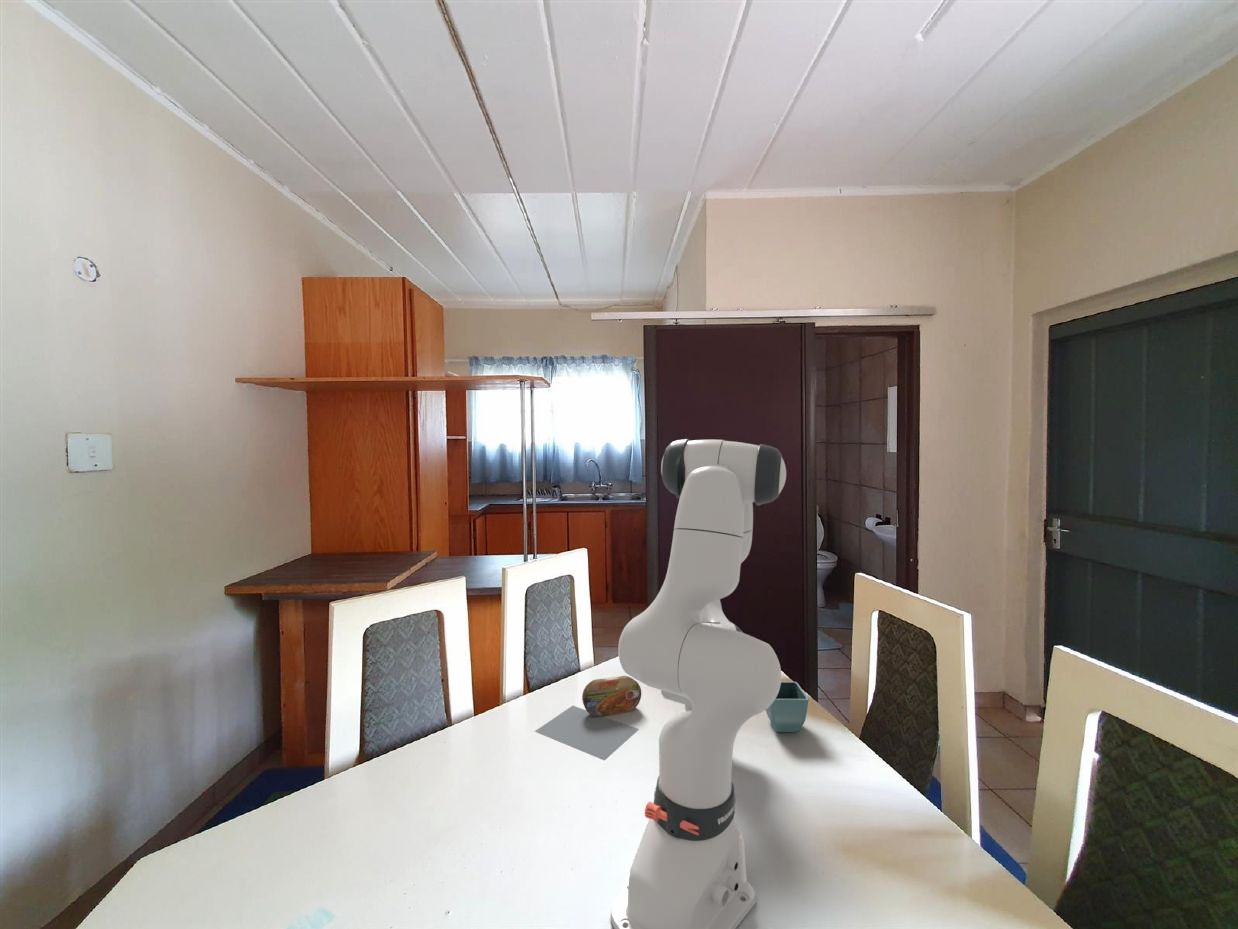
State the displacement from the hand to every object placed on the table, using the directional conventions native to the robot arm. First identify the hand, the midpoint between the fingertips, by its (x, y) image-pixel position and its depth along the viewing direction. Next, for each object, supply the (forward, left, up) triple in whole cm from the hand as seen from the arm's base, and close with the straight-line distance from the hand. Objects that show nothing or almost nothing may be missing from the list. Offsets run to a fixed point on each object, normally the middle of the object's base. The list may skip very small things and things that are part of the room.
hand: (703, 726), depth 113 cm
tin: (-2, +24, -3) cm, 24 cm away
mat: (-12, +24, -3) cm, 27 cm away
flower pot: (+15, -14, -3) cm, 21 cm away
